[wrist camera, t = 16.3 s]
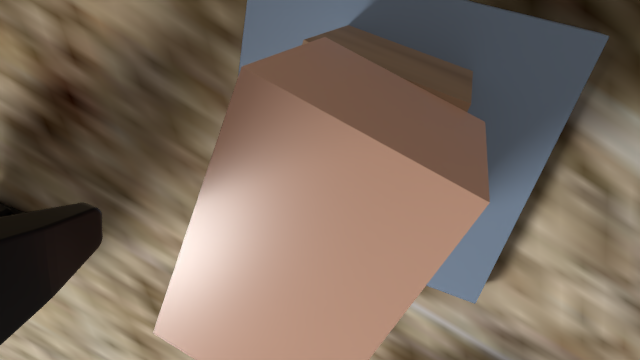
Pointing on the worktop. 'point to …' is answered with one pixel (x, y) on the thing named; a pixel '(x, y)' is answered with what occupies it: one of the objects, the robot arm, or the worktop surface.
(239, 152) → the terracotta block
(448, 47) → the base plate
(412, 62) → the walnut block
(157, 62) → the worktop surface
